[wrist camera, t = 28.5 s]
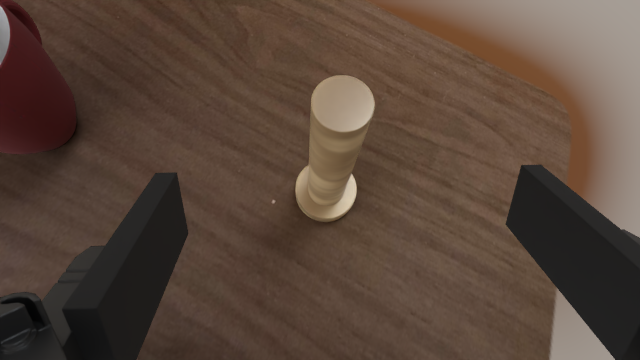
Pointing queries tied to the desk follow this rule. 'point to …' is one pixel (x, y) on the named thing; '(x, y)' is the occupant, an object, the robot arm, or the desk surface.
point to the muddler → (334, 147)
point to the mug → (30, 89)
